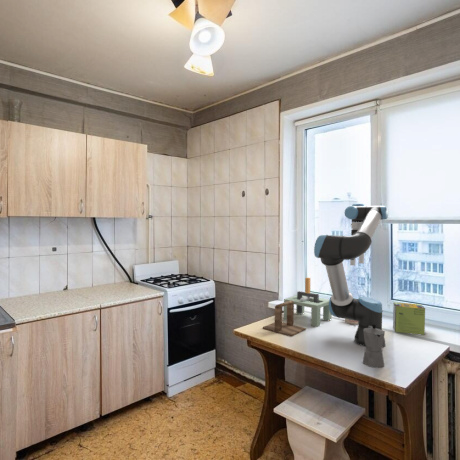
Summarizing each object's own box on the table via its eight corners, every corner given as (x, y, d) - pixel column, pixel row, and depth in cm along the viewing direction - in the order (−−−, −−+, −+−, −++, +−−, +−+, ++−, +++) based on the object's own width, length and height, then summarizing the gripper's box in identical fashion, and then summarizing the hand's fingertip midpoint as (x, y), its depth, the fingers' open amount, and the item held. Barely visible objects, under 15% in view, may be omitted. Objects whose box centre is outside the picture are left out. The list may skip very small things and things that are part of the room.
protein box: (425, 335, 189) (425, 308, 188) (395, 332, 194) (395, 305, 193) (420, 329, 199) (421, 304, 198) (392, 326, 204) (393, 301, 203)
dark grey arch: (316, 316, 211) (317, 279, 211) (297, 312, 221) (297, 276, 221) (318, 315, 213) (318, 278, 213) (299, 311, 223) (299, 276, 223)
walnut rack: (291, 336, 184) (292, 308, 184) (262, 328, 197) (263, 302, 197) (306, 329, 196) (306, 303, 195) (277, 322, 209) (278, 297, 209)
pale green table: (317, 326, 202) (317, 301, 202) (283, 318, 218) (284, 295, 218) (331, 319, 217) (331, 296, 216) (299, 312, 233) (299, 291, 232)
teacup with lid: (349, 325, 206) (349, 306, 206) (341, 320, 215) (342, 302, 215) (366, 324, 208) (367, 305, 208) (358, 319, 217) (358, 302, 217)
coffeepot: (389, 370, 143) (390, 329, 142) (367, 369, 144) (368, 328, 143) (377, 356, 158) (378, 319, 158) (357, 355, 159) (357, 318, 159)
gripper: (359, 229, 211) (358, 262, 212) (343, 229, 193) (342, 265, 193) (371, 229, 206) (370, 263, 207) (356, 229, 188) (355, 266, 188)
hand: (357, 264), depth 200 cm, fingers open, 13 cm apart
